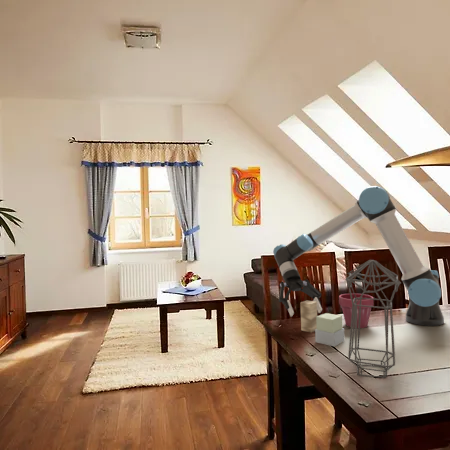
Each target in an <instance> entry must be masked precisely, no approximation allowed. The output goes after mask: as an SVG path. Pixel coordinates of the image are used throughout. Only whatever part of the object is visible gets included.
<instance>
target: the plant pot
mask: <svg viewBox="0 0 450 450" xmlns="http://www.w3.org/2000/svg"><path fill="white" fill-rule="evenodd" d="M351 294H352V298H353V299H354V298H356V297H357V298H360V296H361V294H362V293H355V295H356V297H355V295H354V293H351ZM361 298H372V299H374V297H373V296H371V295H369V294H366V293H364V294H363V296H362V297H361ZM357 301H358V299H357V300H356V302H357ZM374 302H375V300H371V299H362V300H361V305H366V306H374V305H375V304H374ZM354 303H355V300H354ZM338 304H339V306H340V307H341V310H342V314H343V315H342V316H343V319H344V322H345V325H346V326H347V327H348V328H351V317H352V301H351V296H350V293H343V294H342V293H341V294H340V295H339V296H338ZM357 305H360V300H359V301H358V302H357ZM371 310H372V307H363V306H361V319H360V329H365V328H368V325H369V320H370V316H371V313H372V311H371ZM353 318H354V315H353ZM358 324H359V306H357V329H358ZM352 329H353V327H352ZM354 329H355V327H354Z"/></svg>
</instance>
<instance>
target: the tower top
mask: <svg viewBox="0 0 450 450" xmlns="http://www.w3.org/2000/svg"><path fill="white" fill-rule="evenodd" d="M316 322H317V330H321V331H326V332H330V333H334V332H336V331H338V330H341V329H342V328H343V315H340V314H333V313H328V312H325V313H322V314H320V315H317V317H316Z"/></svg>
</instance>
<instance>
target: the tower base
mask: <svg viewBox="0 0 450 450" xmlns="http://www.w3.org/2000/svg"><path fill="white" fill-rule="evenodd" d="M314 332H315V335H314V336H315V343H318V344H321V345H326V346H331V347H336V346H339V345H340V344H342V343H343V342H345V328H343V327H342V329H341V330H338V331H336V332H334V333H330V332H326V331H321V330H317V329H316V330H315V331H314ZM341 342H342V343H341ZM339 343H340V344H339Z"/></svg>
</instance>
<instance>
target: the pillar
mask: <svg viewBox="0 0 450 450" xmlns="http://www.w3.org/2000/svg"><path fill="white" fill-rule="evenodd" d="M299 305H300V328H301V329H300V330H301V331H303V332H308V333H314V332H315V330H316V329H317V322H316V317H317V316H318V310H317V302H315V301H313V300H304V301H301V302H300V304H299Z"/></svg>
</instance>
